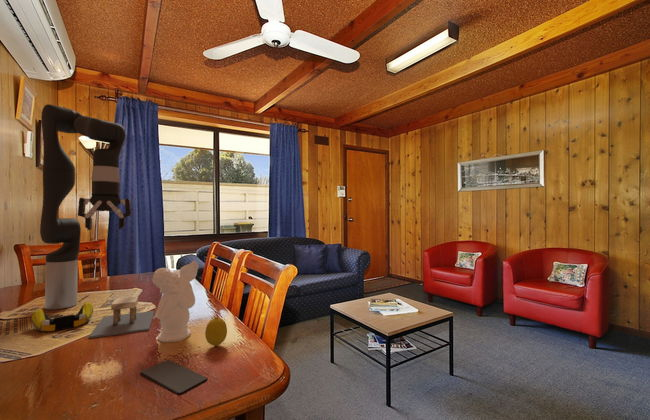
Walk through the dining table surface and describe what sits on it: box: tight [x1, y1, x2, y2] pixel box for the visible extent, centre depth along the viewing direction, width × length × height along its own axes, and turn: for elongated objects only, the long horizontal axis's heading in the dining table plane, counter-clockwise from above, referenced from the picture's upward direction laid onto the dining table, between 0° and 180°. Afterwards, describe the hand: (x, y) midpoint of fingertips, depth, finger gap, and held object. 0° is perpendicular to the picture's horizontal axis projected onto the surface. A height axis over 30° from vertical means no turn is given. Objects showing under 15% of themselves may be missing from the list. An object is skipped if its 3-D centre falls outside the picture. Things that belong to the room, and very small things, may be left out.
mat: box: [88, 310, 155, 339], centre depth 98 cm, size 18×15×1 cm
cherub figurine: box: [152, 259, 199, 343], centre depth 91 cm, size 12×12×22 cm
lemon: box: [204, 316, 228, 347], centre depth 83 cm, size 6×6×8 cm
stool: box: [110, 296, 139, 326], centre depth 98 cm, size 6×6×7 cm
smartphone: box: [139, 359, 209, 396], centre depth 67 cm, size 7×1×15 cm
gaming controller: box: [31, 301, 94, 333], centre depth 97 cm, size 15×6×10 cm
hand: (105, 229), depth 102 cm, fingers open, 8 cm apart
